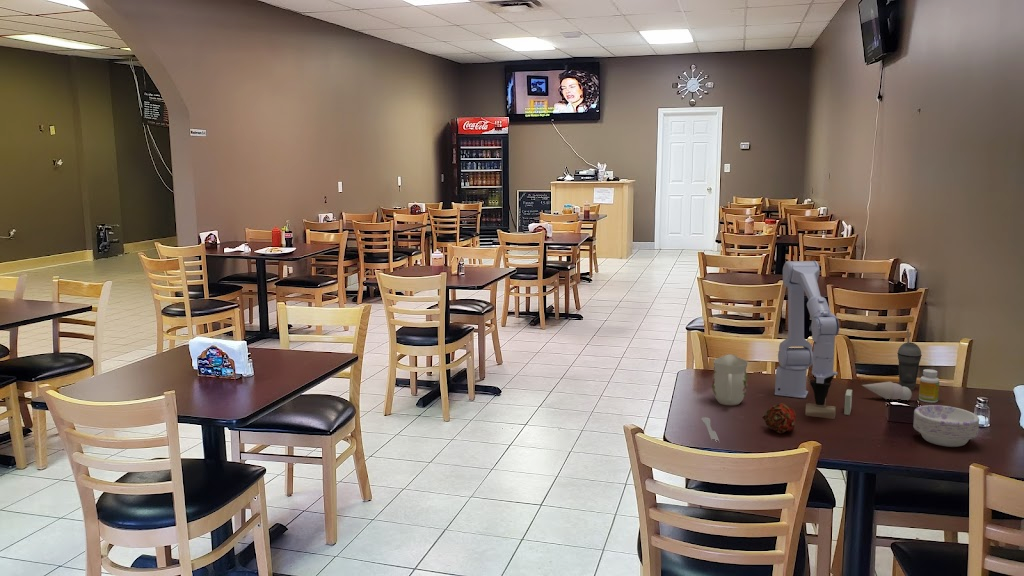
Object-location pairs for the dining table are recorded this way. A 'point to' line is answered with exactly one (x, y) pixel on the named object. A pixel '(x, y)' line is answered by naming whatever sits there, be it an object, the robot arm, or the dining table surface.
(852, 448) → the dining table surface
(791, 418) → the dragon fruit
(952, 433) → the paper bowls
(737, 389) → the pitcher
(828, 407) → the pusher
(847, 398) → the tile
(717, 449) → the dining table surface
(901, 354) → the beverage cup
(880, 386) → the ice cream cone
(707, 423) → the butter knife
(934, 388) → the supplement bottle
